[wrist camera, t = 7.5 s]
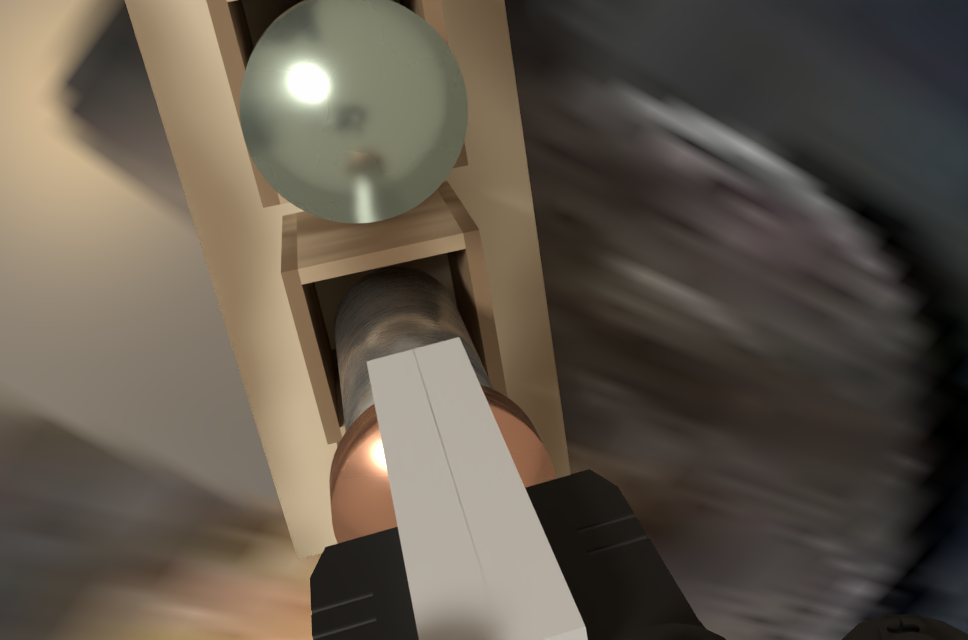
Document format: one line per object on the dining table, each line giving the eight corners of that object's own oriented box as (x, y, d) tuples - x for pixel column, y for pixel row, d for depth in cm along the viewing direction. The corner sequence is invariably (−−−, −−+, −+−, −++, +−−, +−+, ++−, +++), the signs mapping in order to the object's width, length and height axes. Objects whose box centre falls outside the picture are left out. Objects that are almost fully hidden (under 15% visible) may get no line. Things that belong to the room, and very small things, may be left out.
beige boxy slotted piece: (297, 537, 38) (299, 664, 32) (125, -25, 29) (75, -15, 22) (563, 470, 40) (619, 578, 33) (482, -88, 30) (538, -96, 24)
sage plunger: (278, 150, 30) (273, 244, 20) (237, -8, 28) (210, 17, 18) (424, 120, 30) (484, 199, 21) (395, -37, 28) (447, -26, 19)
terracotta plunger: (337, 409, 29) (359, 622, 20) (301, 271, 27) (306, 437, 18) (484, 375, 30) (569, 566, 21) (458, 236, 28) (541, 381, 19)
